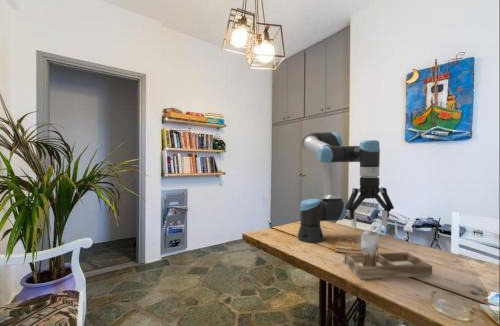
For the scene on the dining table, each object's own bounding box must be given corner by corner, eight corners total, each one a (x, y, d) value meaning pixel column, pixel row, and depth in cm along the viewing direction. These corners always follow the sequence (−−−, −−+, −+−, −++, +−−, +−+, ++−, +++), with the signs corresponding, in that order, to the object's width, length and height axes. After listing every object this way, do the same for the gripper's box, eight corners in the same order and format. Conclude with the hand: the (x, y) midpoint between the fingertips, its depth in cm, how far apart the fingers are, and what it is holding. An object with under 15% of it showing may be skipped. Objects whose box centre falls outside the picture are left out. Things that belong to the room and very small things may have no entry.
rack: (344, 263, 110) (344, 254, 109) (407, 261, 111) (407, 252, 111) (360, 279, 96) (360, 268, 96) (432, 275, 97) (432, 265, 97)
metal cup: (369, 262, 108) (368, 229, 107) (382, 269, 101) (382, 234, 101) (357, 265, 105) (356, 231, 105) (370, 272, 99) (369, 236, 98)
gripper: (344, 178, 98) (344, 229, 99) (403, 176, 99) (403, 227, 100) (337, 176, 105) (337, 224, 106) (392, 175, 107) (391, 222, 107)
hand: (369, 225), depth 103 cm, fingers open, 13 cm apart
